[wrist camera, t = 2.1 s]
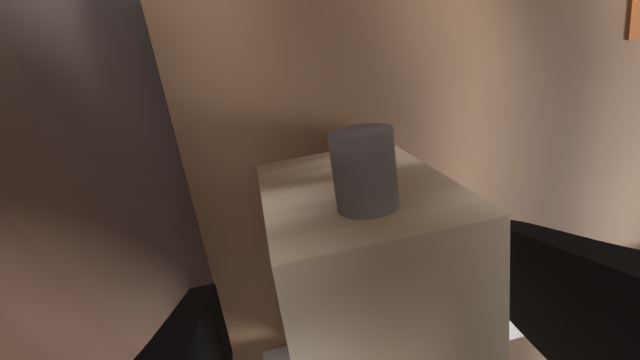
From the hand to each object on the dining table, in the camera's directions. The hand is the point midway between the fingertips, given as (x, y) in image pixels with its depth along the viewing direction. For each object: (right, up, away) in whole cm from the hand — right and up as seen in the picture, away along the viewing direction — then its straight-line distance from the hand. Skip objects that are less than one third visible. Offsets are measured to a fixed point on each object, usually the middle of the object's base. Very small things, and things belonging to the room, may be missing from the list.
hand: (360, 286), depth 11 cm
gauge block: (-1, +1, +3) cm, 3 cm away
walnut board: (+6, +3, +5) cm, 8 cm away
